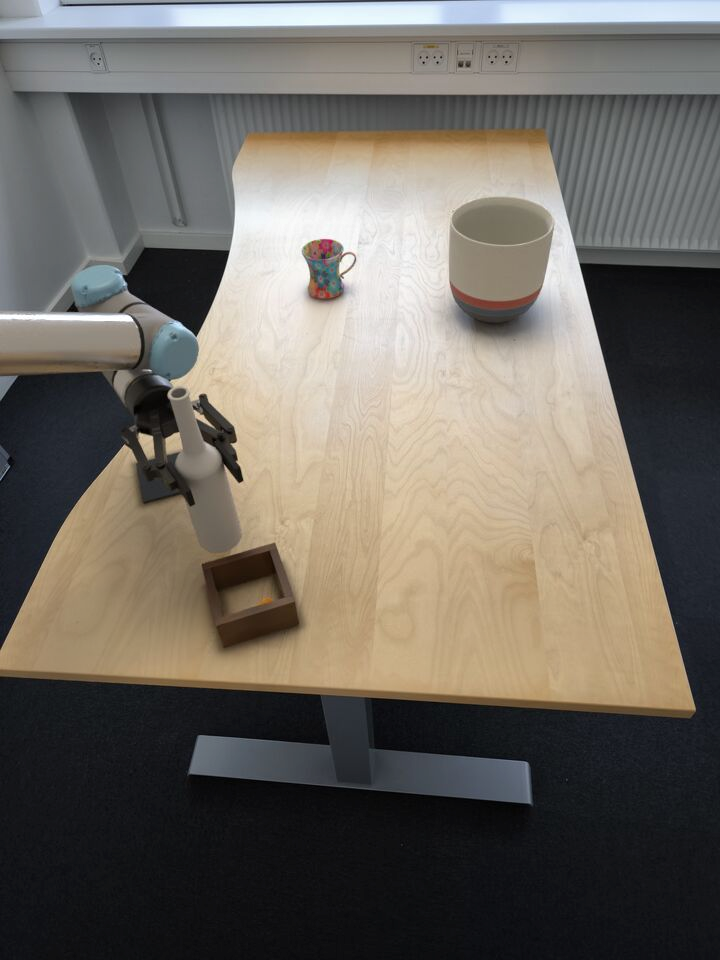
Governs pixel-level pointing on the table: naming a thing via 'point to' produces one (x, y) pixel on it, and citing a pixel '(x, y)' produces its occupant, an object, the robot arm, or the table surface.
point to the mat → (156, 484)
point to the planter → (498, 256)
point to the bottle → (204, 481)
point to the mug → (325, 267)
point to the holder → (255, 618)
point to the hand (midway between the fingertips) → (215, 486)
